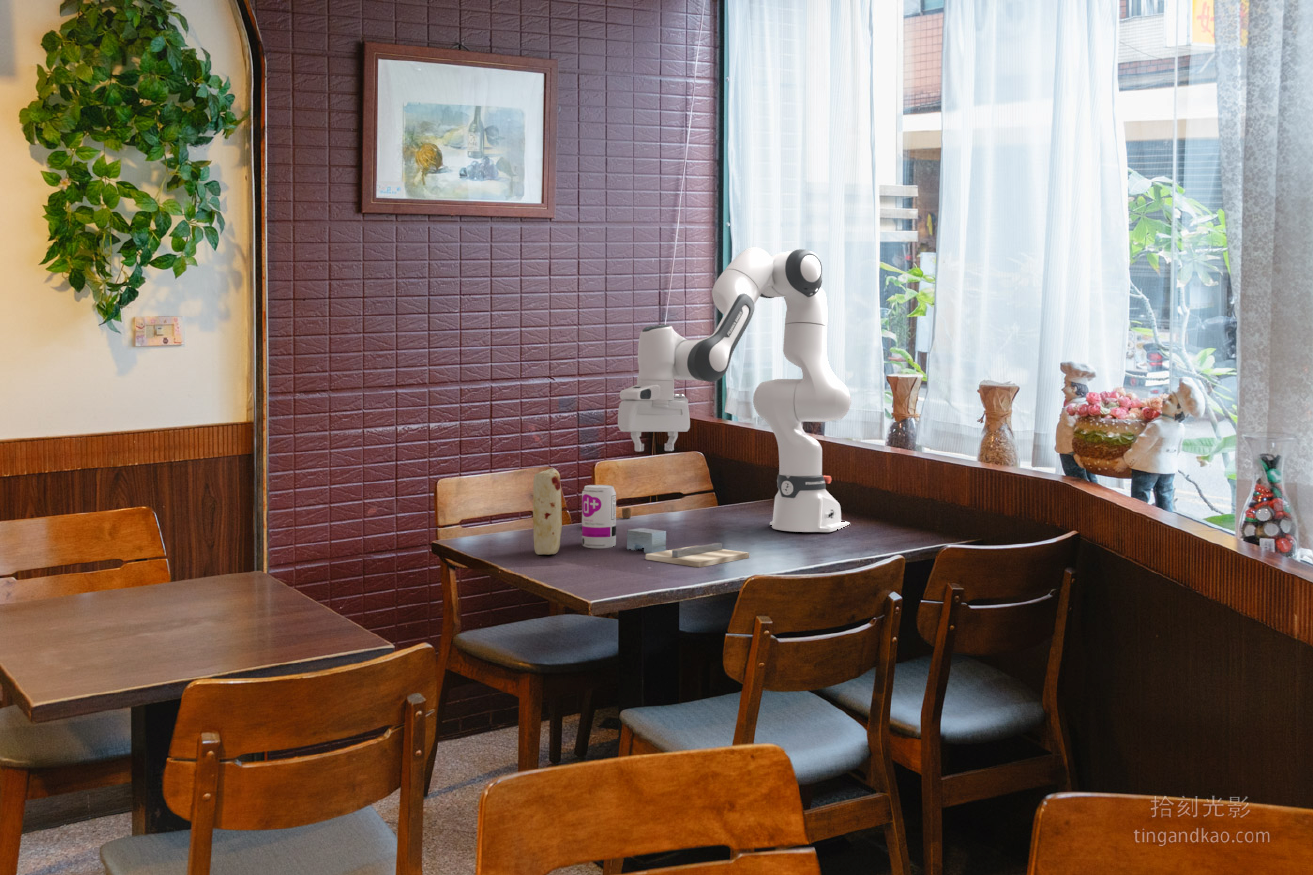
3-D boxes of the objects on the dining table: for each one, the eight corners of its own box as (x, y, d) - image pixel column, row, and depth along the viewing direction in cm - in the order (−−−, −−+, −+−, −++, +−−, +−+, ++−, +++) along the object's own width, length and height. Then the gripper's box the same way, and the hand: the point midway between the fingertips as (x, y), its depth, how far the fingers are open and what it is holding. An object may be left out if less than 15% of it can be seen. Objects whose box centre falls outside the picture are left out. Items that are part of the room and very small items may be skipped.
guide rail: (717, 549, 281) (717, 542, 281) (722, 549, 280) (722, 543, 280) (672, 557, 269) (672, 550, 269) (677, 557, 268) (677, 551, 268)
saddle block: (641, 548, 290) (641, 527, 290) (665, 551, 285) (666, 531, 284) (627, 550, 286) (627, 530, 286) (651, 554, 281) (651, 533, 281)
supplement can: (599, 551, 285) (599, 488, 284) (575, 547, 290) (575, 486, 289) (622, 547, 291) (622, 486, 290) (598, 544, 296) (598, 483, 295)
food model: (564, 556, 277) (564, 470, 276) (535, 557, 275) (535, 471, 274) (559, 550, 286) (559, 467, 285) (531, 551, 285) (531, 467, 284)
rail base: (696, 550, 287) (696, 545, 287) (749, 557, 276) (749, 552, 276) (645, 559, 274) (645, 554, 273) (699, 567, 263) (699, 562, 263)
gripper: (678, 393, 293) (677, 450, 293) (614, 391, 280) (613, 451, 280) (696, 393, 288) (695, 451, 289) (631, 392, 275) (630, 452, 275)
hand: (654, 451), depth 284 cm, fingers open, 8 cm apart
